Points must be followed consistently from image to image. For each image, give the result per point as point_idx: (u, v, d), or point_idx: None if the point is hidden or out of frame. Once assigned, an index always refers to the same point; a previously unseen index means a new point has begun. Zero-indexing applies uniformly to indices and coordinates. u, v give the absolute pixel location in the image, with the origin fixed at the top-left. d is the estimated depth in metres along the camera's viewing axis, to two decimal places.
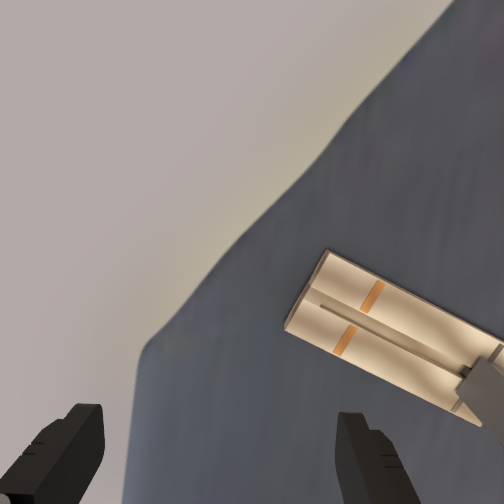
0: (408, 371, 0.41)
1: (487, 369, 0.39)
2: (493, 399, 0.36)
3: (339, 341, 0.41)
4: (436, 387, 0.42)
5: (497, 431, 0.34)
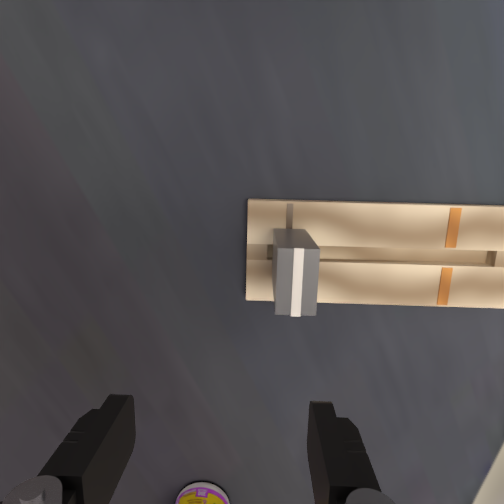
0: (365, 226, 0.35)
1: None
2: None
3: (459, 223, 0.34)
4: (324, 222, 0.35)
5: None
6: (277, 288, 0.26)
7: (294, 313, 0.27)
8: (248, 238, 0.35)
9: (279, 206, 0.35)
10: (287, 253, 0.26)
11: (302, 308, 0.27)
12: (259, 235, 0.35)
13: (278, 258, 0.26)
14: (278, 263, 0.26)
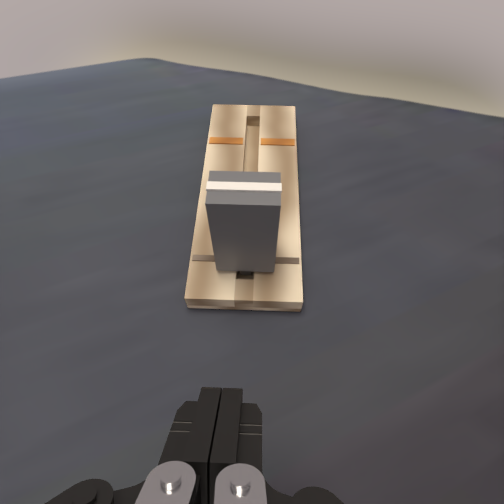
0: None
1: None
2: None
3: (222, 137, 0.41)
4: None
5: None
6: (250, 203, 0.24)
7: (278, 188, 0.25)
8: (228, 298, 0.31)
9: (194, 267, 0.32)
10: (211, 195, 0.24)
11: (272, 182, 0.25)
12: (225, 287, 0.31)
13: (216, 202, 0.24)
14: (221, 202, 0.24)
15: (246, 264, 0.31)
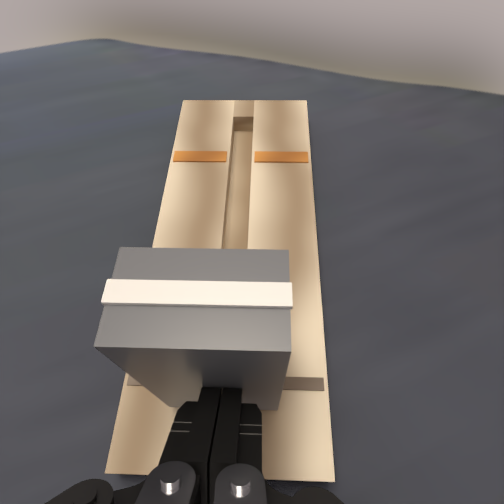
0: None
1: None
2: None
3: (195, 151, 0.27)
4: None
5: None
6: (210, 345, 0.09)
7: (283, 297, 0.10)
8: None
9: (130, 400, 0.18)
10: (114, 320, 0.10)
11: (268, 279, 0.10)
12: None
13: (123, 344, 0.09)
14: (137, 343, 0.09)
15: None
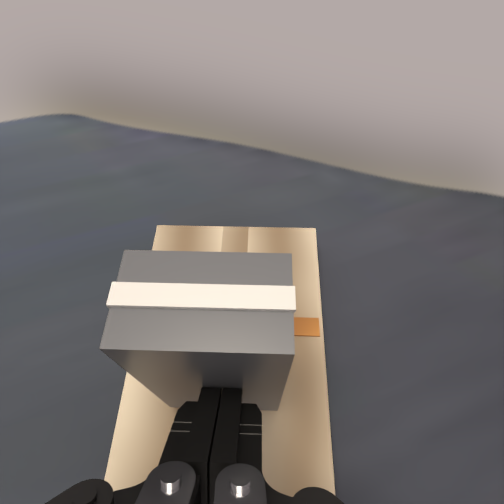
0: None
1: None
2: None
3: None
4: None
5: None
6: (215, 348, 0.09)
7: (286, 300, 0.10)
8: None
9: None
10: (119, 323, 0.10)
11: (271, 282, 0.10)
12: None
13: (128, 346, 0.09)
14: (142, 346, 0.09)
15: None
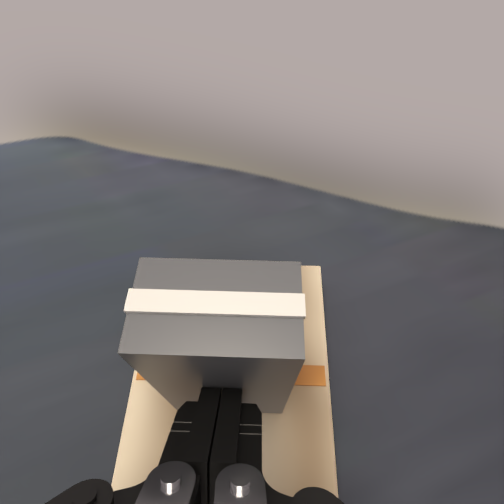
0: None
1: None
2: None
3: None
4: None
5: None
6: (229, 353, 0.10)
7: (296, 307, 0.10)
8: None
9: None
10: (136, 328, 0.10)
11: (282, 290, 0.11)
12: None
13: (145, 351, 0.10)
14: (159, 350, 0.10)
15: None
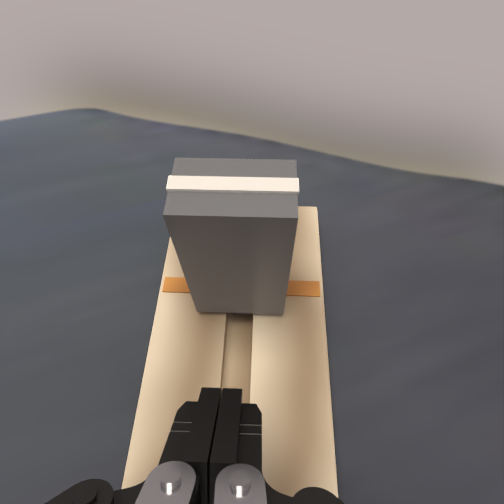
0: None
1: None
2: None
3: None
4: None
5: None
6: (243, 214, 0.13)
7: (292, 186, 0.14)
8: None
9: None
10: (175, 200, 0.14)
11: (282, 177, 0.14)
12: None
13: (183, 213, 0.14)
14: (192, 213, 0.14)
15: (241, 304, 0.20)
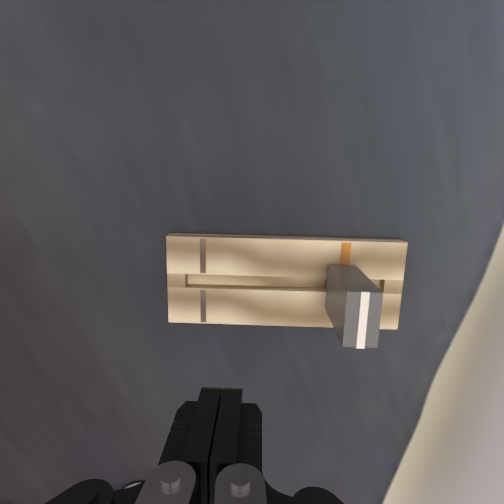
0: (269, 258, 0.40)
1: None
2: None
3: (350, 256, 0.40)
4: (233, 255, 0.40)
5: None
6: (345, 325, 0.31)
7: (359, 345, 0.31)
8: (168, 269, 0.40)
9: (193, 241, 0.40)
10: (355, 296, 0.31)
11: (366, 341, 0.31)
12: (177, 266, 0.40)
13: (347, 300, 0.31)
14: (347, 304, 0.31)
15: (328, 291, 0.39)
